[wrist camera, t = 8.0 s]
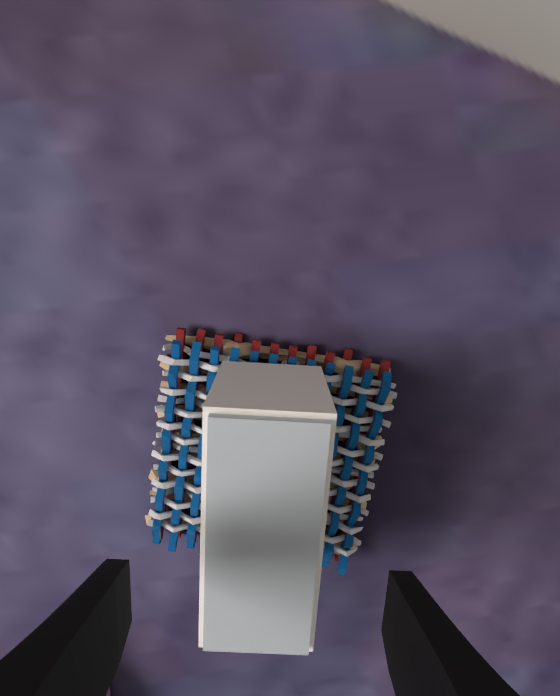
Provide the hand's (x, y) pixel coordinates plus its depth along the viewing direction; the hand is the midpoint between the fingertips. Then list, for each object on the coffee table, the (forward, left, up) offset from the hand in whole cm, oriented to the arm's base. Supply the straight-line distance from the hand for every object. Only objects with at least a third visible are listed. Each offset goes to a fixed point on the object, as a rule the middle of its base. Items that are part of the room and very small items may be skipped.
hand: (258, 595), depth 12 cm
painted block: (0, 0, -7) cm, 7 cm away
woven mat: (0, 0, -9) cm, 9 cm away
